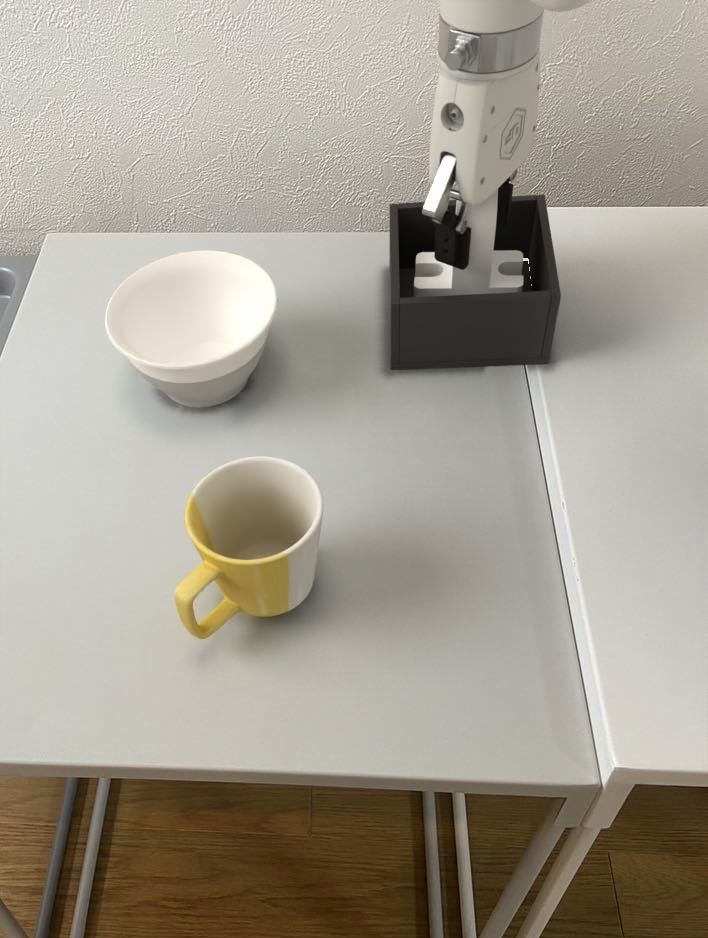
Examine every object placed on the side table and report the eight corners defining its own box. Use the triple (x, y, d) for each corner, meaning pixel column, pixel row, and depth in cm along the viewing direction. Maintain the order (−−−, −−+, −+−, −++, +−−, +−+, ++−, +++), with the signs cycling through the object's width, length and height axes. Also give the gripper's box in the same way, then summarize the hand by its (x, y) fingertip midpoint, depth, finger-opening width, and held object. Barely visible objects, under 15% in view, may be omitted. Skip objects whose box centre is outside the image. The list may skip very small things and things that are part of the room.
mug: (279, 516, 81) (266, 433, 72) (356, 590, 76) (352, 509, 67) (150, 604, 77) (119, 528, 68) (221, 687, 72) (198, 616, 63)
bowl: (231, 299, 97) (219, 227, 90) (318, 383, 89) (312, 311, 82) (98, 368, 94) (74, 299, 87) (176, 461, 86) (157, 394, 78)
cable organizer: (520, 304, 86) (534, 208, 78) (413, 304, 88) (415, 210, 80) (520, 268, 89) (534, 171, 81) (416, 268, 91) (418, 174, 83)
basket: (534, 263, 95) (544, 193, 88) (548, 363, 87) (561, 295, 80) (389, 271, 97) (389, 203, 90) (390, 370, 89) (390, 304, 82)
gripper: (472, 104, 65) (457, 310, 80) (590, -8, 72) (556, 202, 86) (382, 79, 68) (384, 282, 83) (503, -26, 75) (484, 180, 90)
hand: (472, 240), depth 85 cm, fingers closed on cable organizer, 6 cm apart
